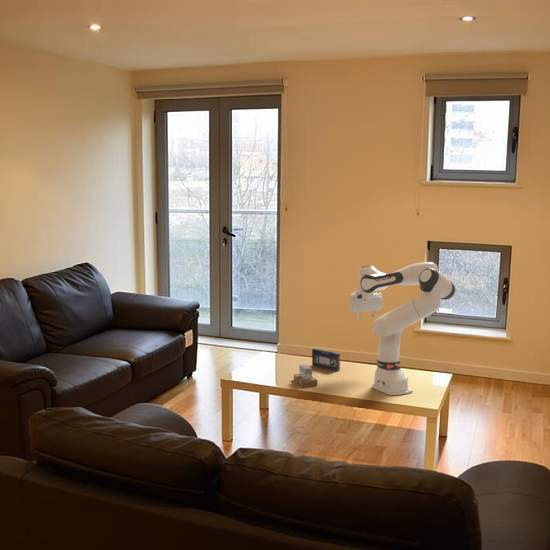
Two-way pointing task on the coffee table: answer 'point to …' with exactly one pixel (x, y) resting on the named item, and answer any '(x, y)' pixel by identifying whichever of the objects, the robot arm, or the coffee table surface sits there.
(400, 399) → the coffee table surface
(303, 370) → the housing
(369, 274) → the robot arm
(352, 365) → the coffee table surface
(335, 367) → the vhs cassette tape
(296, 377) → the walnut stand
